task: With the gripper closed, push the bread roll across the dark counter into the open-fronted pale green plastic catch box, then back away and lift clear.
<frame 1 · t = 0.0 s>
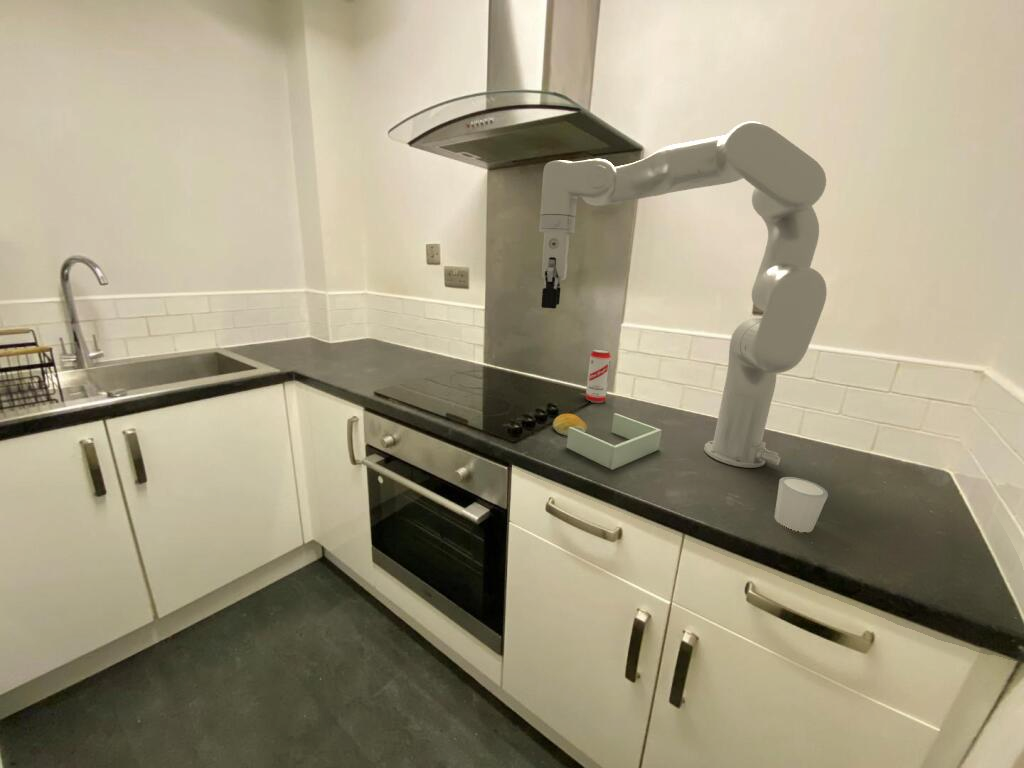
hand: (550, 306, 95), 31 cm above the worktop, tool pointing down, fingers open, 9 cm apart
beer can: (595, 401, 131), on the worktop
bread roll: (569, 431, 107), on the worktop
white cup: (792, 523, 72), on the worktop
catch box: (612, 448, 97), on the worktop
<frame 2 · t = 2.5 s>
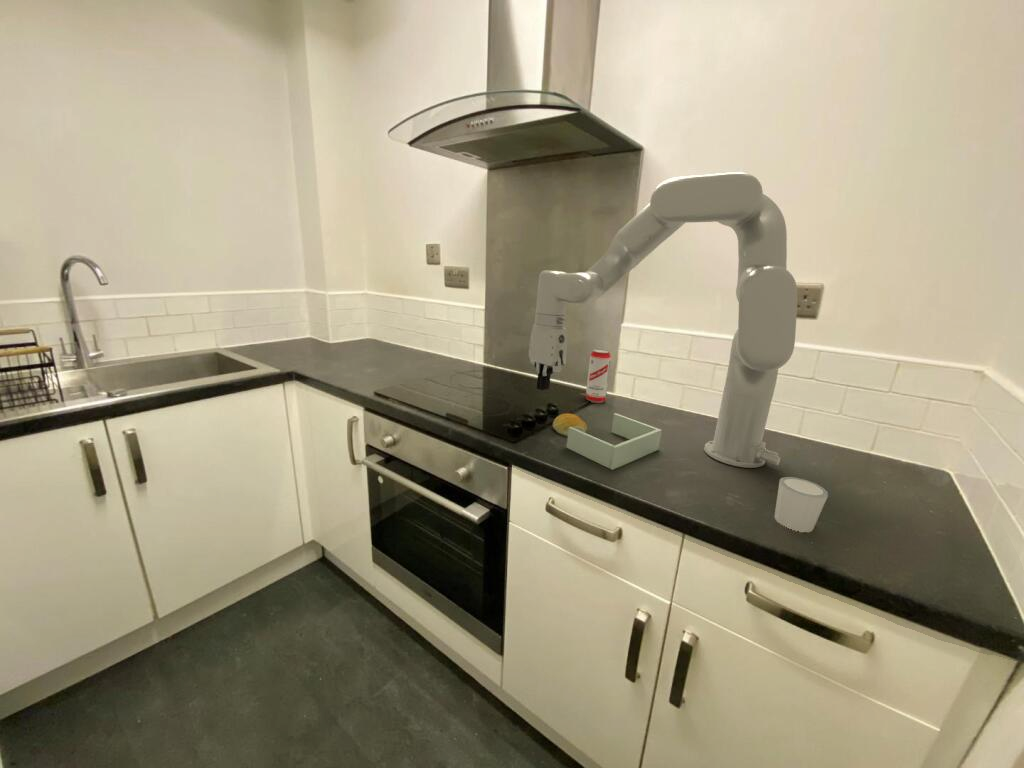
hand: (542, 388, 112), 8 cm above the worktop, tool pointing down, fingers closed
nothing on the worktop moved.
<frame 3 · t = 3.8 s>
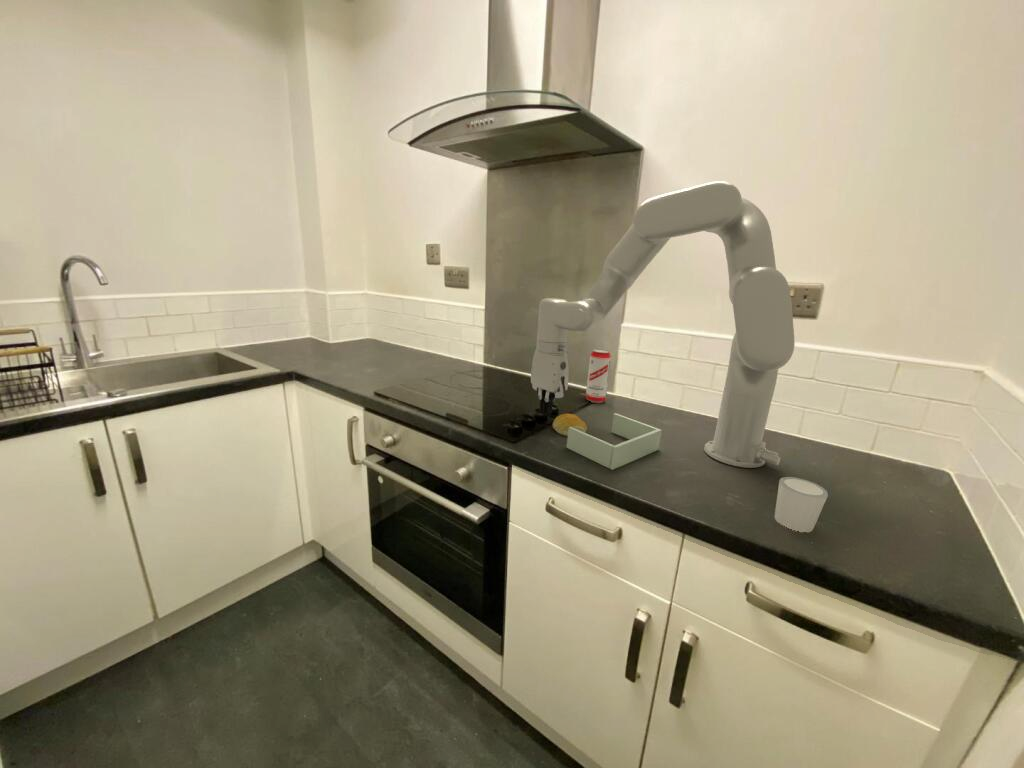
hand: (545, 413, 113), 1 cm above the worktop, tool pointing down, fingers closed
nothing on the worktop moved.
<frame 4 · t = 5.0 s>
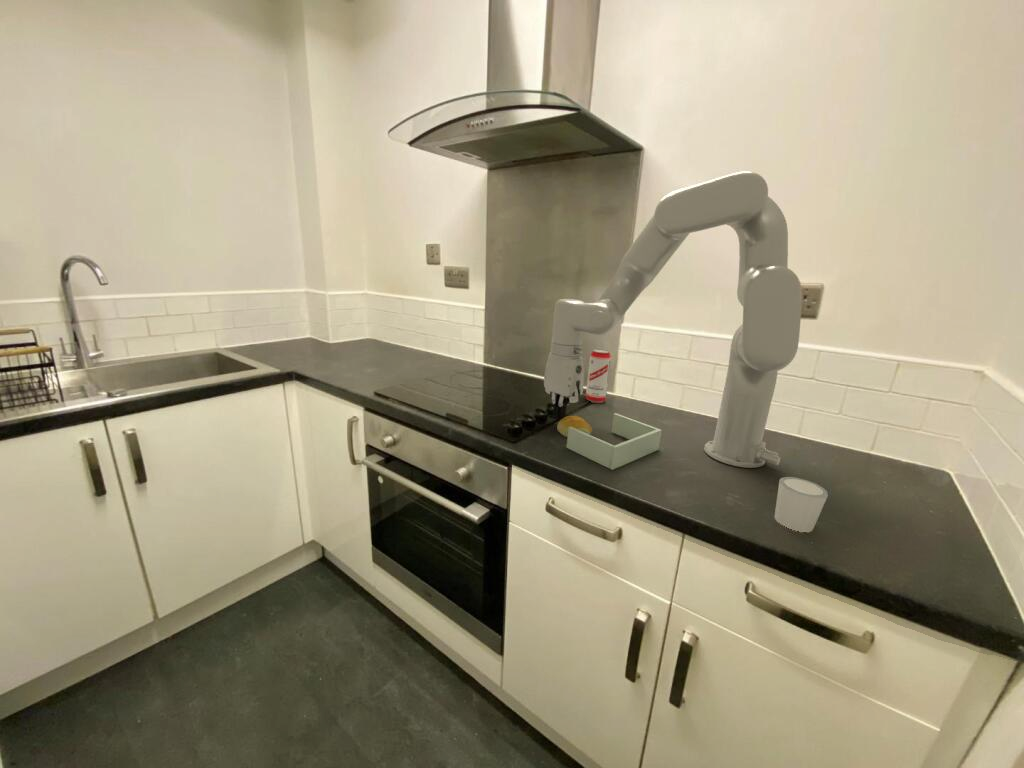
hand: (558, 418, 109), 2 cm above the worktop, tool pointing down, fingers closed
bread roll: (574, 433, 105), on the worktop
everything else where it was.
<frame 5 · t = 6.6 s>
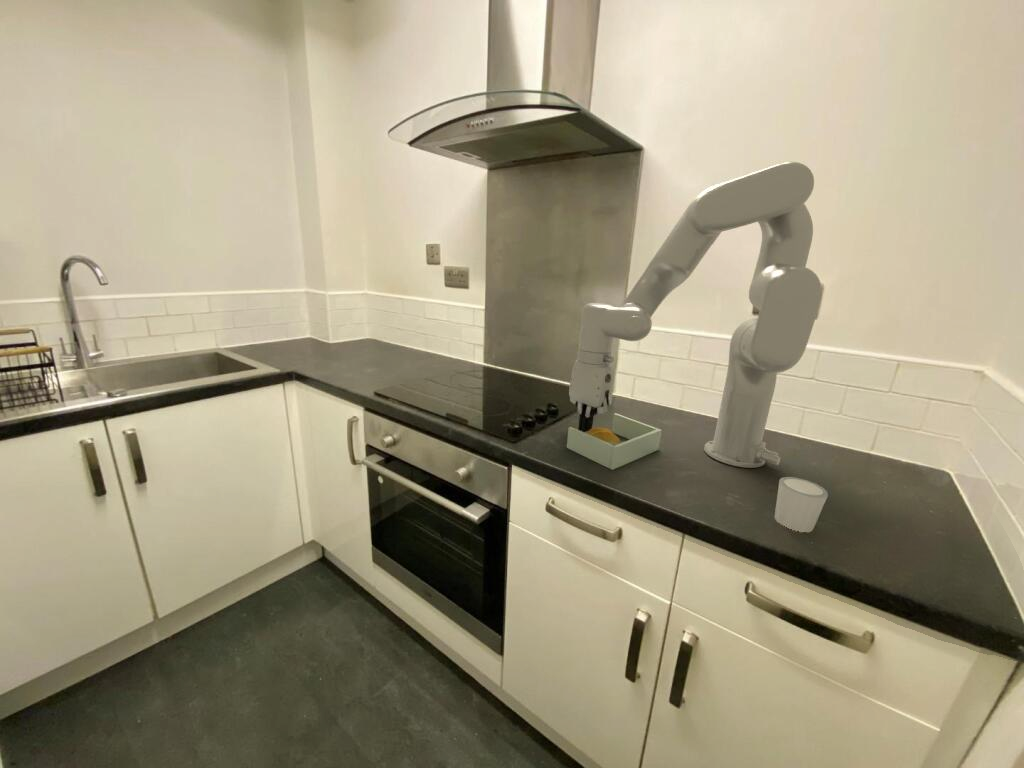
hand: (584, 430, 103), 2 cm above the worktop, tool pointing down, fingers closed
bread roll: (601, 446, 99), on the worktop, touching gripper
everything else where it was.
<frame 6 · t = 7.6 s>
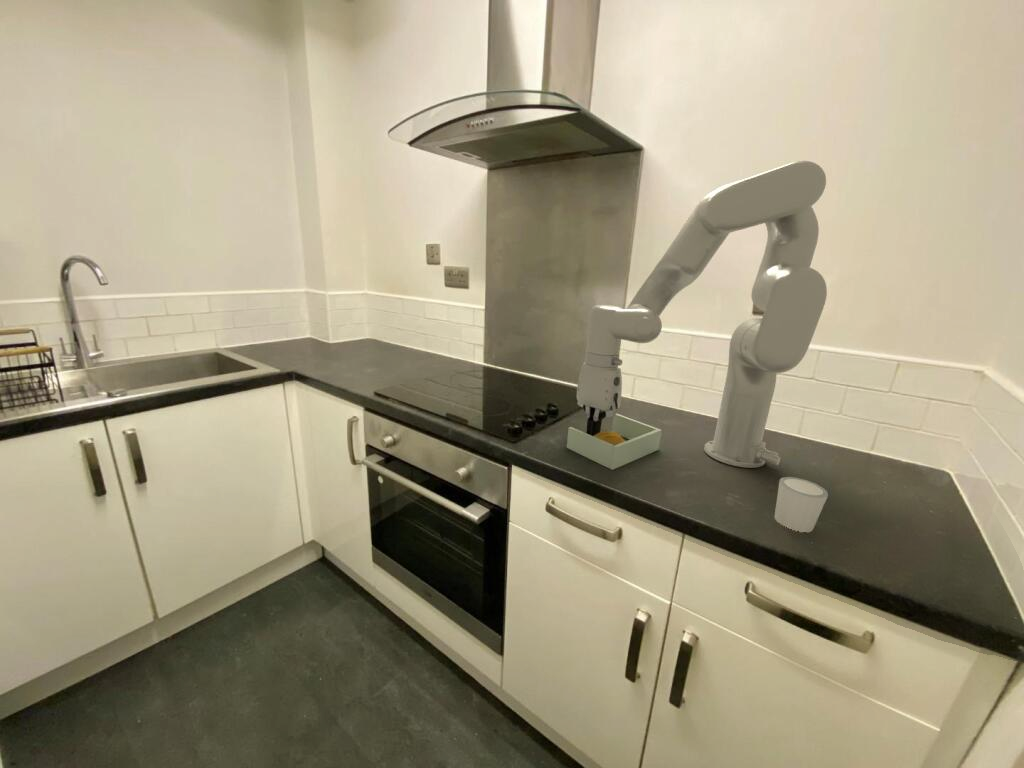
hand: (592, 433, 101), 2 cm above the worktop, tool pointing down, fingers closed
bread roll: (609, 450, 97), on the worktop
everything else where it was.
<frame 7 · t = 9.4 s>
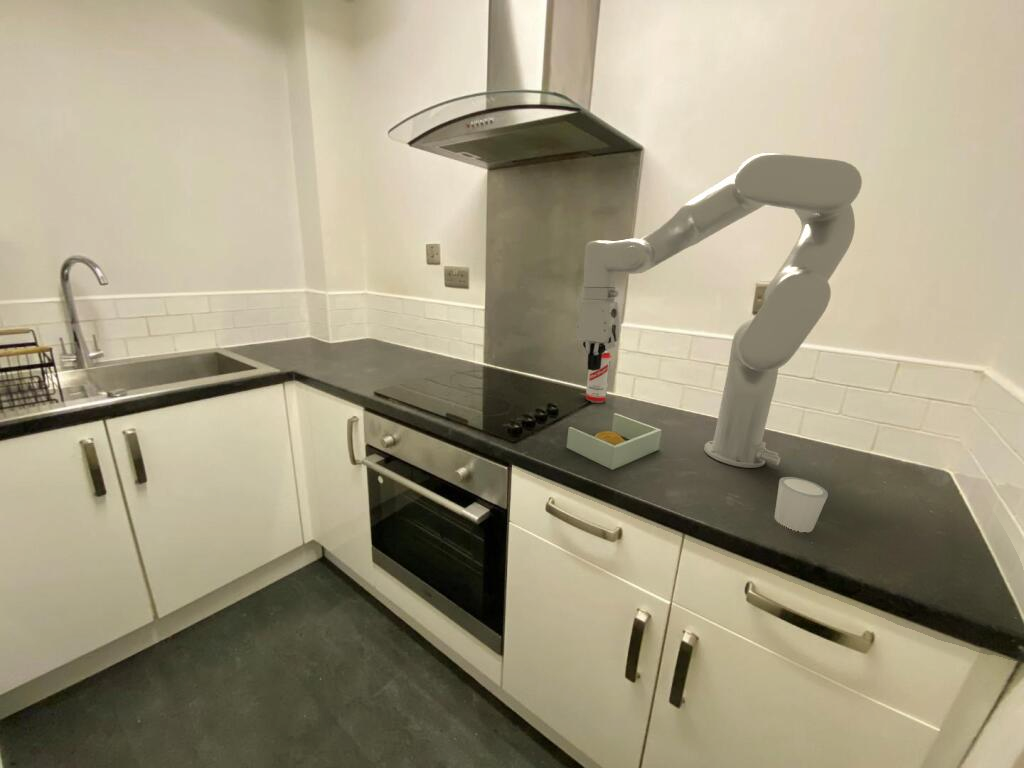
hand: (593, 369, 105), 16 cm above the worktop, tool pointing down, fingers closed
nothing on the worktop moved.
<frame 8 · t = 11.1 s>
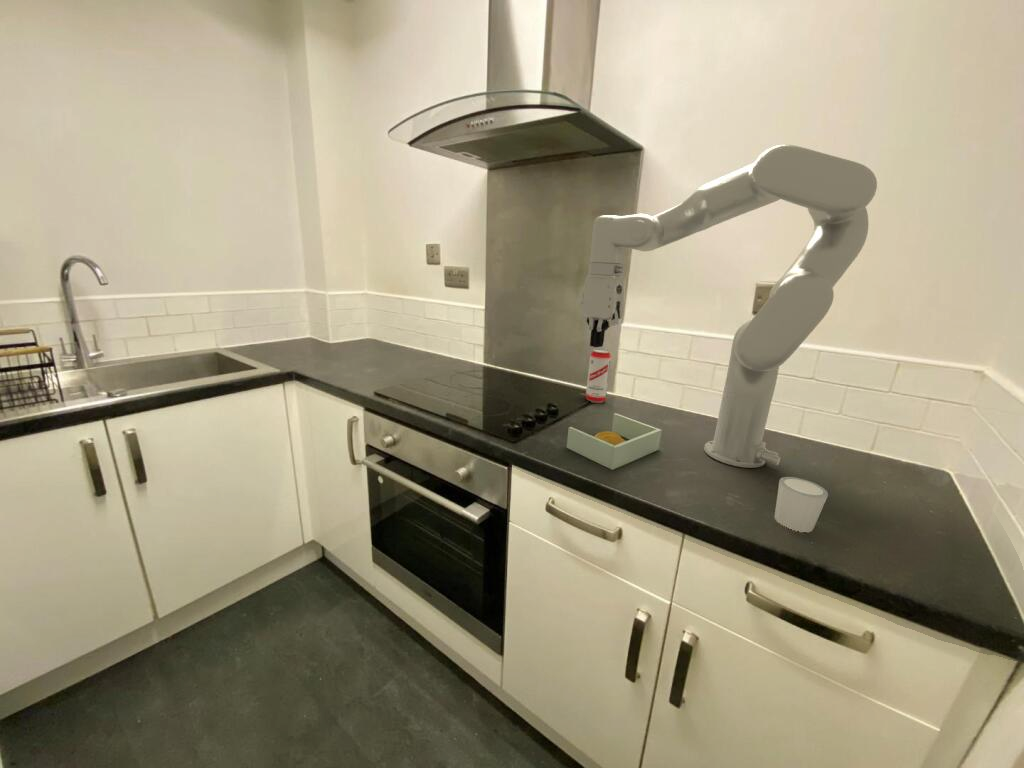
hand: (596, 346, 105), 21 cm above the worktop, tool pointing down, fingers closed
nothing on the worktop moved.
at the end: bread roll inside the target area on the catch box (1.0 cm from its centre), point -0.5 cm above the catch box's base; bread roll moved 13.4 cm from its start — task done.
